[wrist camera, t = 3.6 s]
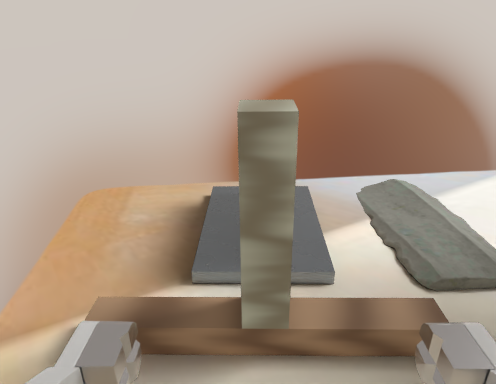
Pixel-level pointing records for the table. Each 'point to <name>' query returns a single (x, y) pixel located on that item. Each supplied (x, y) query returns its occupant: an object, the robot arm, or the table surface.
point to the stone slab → (429, 237)
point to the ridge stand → (228, 241)
